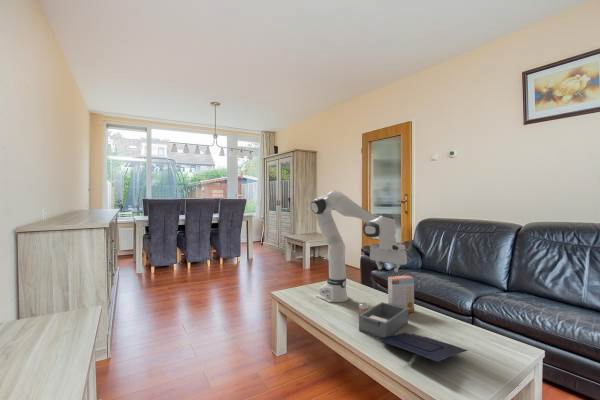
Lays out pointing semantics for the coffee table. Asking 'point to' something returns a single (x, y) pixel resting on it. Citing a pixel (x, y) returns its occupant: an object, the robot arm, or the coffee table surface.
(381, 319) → the cream block
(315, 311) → the coffee table surface
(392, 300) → the cracker box
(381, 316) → the tote
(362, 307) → the jar with white lid
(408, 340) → the dark navy flat panel
